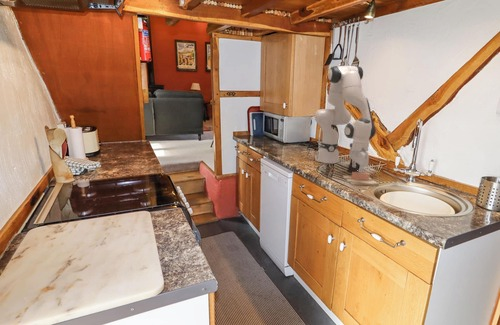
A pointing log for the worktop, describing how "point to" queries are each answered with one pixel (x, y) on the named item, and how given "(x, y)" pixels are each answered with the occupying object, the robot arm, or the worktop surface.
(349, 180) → the ash board
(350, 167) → the door stopper
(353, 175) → the terracotta block
